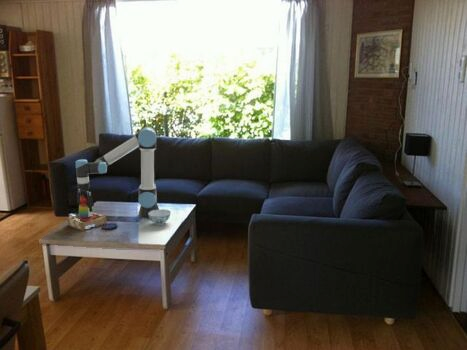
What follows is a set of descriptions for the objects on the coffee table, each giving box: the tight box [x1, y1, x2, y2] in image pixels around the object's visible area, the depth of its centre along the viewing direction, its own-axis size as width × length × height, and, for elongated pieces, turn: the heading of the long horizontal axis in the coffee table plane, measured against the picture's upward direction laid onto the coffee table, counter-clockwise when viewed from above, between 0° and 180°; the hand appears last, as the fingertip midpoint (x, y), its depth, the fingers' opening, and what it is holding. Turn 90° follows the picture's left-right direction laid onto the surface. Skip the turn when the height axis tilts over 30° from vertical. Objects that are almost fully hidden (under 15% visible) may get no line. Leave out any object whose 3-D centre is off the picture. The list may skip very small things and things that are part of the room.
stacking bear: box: [78, 195, 97, 222], centre depth 281 cm, size 11×10×18 cm
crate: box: [67, 212, 107, 232], centre depth 284 cm, size 18×18×5 cm
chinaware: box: [148, 208, 171, 226], centre depth 284 cm, size 15×15×8 cm
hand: (86, 214), depth 283 cm, fingers closed on stacking bear, 9 cm apart
